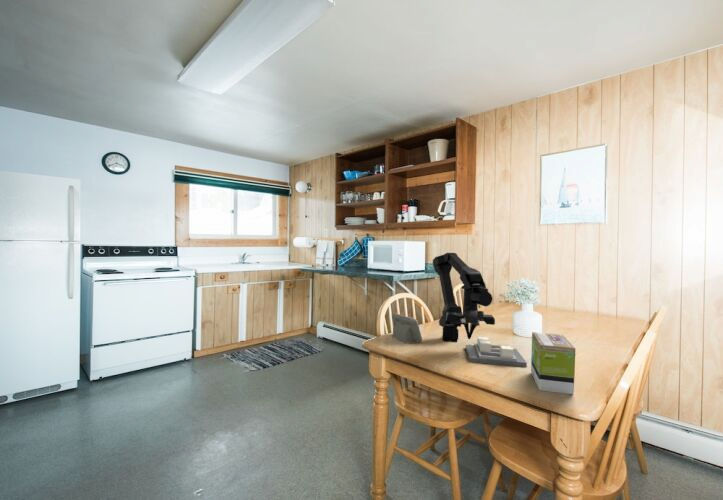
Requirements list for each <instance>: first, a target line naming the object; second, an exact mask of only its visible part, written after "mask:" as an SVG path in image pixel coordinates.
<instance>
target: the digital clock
mask: <svg viewBox="0 0 723 500" xmlns="http://www.w3.org/2000/svg"><path fill="white" fill-rule="evenodd" d="M391 319H392V322H393V330H392V338H393V339H396V340H399V341H400V342H404V343H406V344H407V343H411V342H417V343H421V342H422V341H423V336H422V333H421V329H420V325H419V321H418V320H417V319H415V318H413V317H409V316H406V315H403V314H399V313H395V312H393V313H392V314H391Z"/></svg>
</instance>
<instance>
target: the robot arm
mask: <svg viewBox="0 0 723 500" xmlns="http://www.w3.org/2000/svg"><path fill="white" fill-rule="evenodd" d="M432 266H433V269H434V271H435V272H436V274H437V275H438V277H439V282H440V287H441V293H442V297H443V304H444V306H443V309H442V316H440V319H439V320H438V324H439V326H441V328H442V335H441V339H442V342H443V341H446V342H455V343H457V342H458V340H459V327H460V328H461V327H462V326H464V329H465V333H466V337H467V339H468V340H471V338H472V336H473V333H474V331H475V329H476V328H477V326H481V325H480V323H481V322H484V323H485V324H486V325H493V326H494V325H495V324H496V319H495V317H494V316H493V315H492V314H484V313H485V312H484V310H478V308H479V306H482V307H488V306H491V304H492V302H493V296H492V294H491V292H489V288H487V286H486V282H485V281H484V278H483V275H482V273H481V272H480V271H479V270H478V269H476V268H473V267H470V266H469V265H467V264H466V263H465V261H463V260H462V258H461V257H459V255H458V254H457V253H455V252H446V253H443V254H441V255H438V256H435V257H434V258H433V259H432ZM452 269H454V270H455V271H456V272H457V273H458V275H459V279H460V281H461V282H462V284H463V285H462V286H461V287H460V288H461V289H462V290H463V297H462V298H463V300H462V301H463V303H462V305H463V306H462V307H463V308H462V307H461V306H460V305H458V304H457V303H456V300H455V293H454V290H453V283H452V279H451V272H452ZM478 305H479V306H478ZM469 324H470V325H469Z"/></svg>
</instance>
